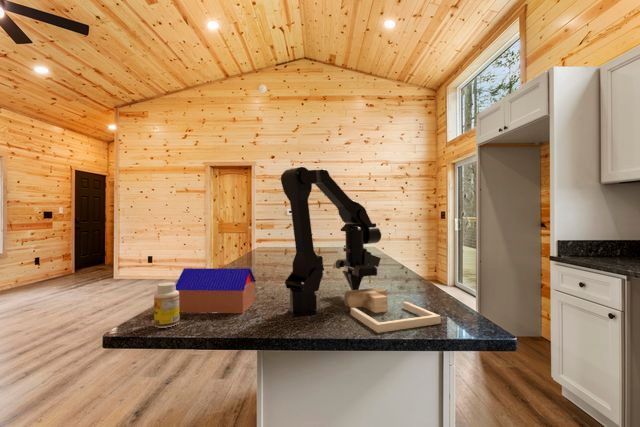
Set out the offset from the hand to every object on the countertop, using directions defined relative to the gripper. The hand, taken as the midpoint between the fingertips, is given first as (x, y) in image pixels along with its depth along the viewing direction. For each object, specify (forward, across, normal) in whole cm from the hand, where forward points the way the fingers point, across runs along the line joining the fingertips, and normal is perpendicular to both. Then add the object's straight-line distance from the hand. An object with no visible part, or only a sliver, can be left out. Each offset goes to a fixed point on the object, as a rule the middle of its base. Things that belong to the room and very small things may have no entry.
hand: (355, 294), depth 102 cm
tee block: (+1, -11, 0) cm, 11 cm away
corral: (+1, -22, 0) cm, 22 cm away
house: (+2, +6, +42) cm, 42 cm away
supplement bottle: (+2, -6, +54) cm, 54 cm away
